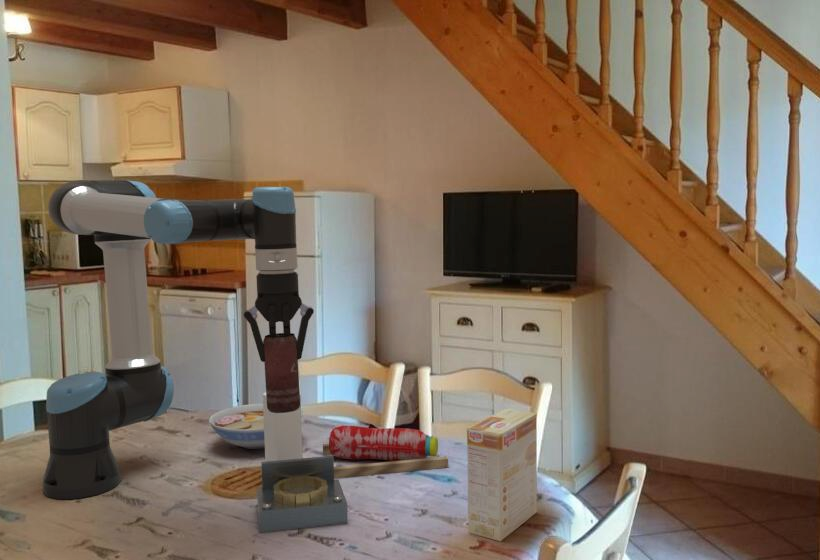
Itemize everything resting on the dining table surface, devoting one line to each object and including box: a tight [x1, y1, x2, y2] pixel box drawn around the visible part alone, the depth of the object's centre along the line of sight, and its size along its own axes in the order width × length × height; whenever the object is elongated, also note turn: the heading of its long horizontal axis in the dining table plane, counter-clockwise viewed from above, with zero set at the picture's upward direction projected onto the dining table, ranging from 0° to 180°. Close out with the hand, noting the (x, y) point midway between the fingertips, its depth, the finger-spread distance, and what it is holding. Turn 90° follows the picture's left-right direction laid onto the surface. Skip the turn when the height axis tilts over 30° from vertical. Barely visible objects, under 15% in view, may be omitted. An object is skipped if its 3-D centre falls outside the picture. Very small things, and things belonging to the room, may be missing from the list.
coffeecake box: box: [466, 407, 538, 542], centre depth 137 cm, size 15×7×20 cm, turn 145°
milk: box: [262, 391, 304, 462], centre depth 160 cm, size 6×6×22 cm
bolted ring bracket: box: [256, 455, 348, 534], centre depth 143 cm, size 16×12×9 cm
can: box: [262, 332, 301, 413], centre depth 139 cm, size 6×6×14 cm
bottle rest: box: [322, 434, 449, 479], centre depth 173 cm, size 26×18×2 cm
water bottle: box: [328, 423, 439, 462], centre depth 174 cm, size 12×8×25 cm
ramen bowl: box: [208, 403, 303, 450], centre depth 185 cm, size 25×23×8 cm
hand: (282, 397), depth 140 cm, fingers closed
